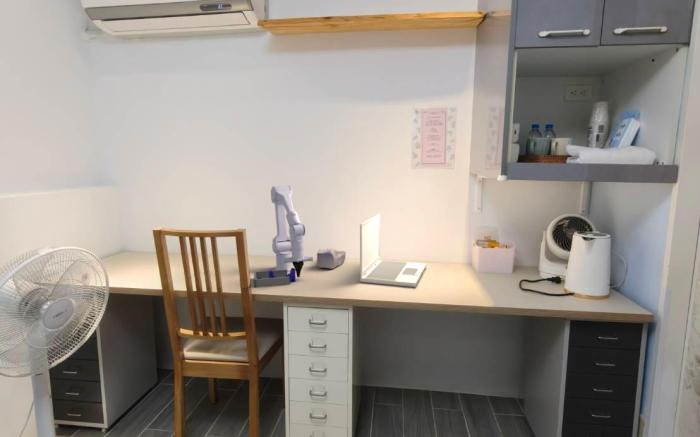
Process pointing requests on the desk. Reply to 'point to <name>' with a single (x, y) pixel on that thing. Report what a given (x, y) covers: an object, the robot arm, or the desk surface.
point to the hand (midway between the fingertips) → (298, 276)
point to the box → (271, 281)
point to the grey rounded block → (330, 258)
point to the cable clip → (290, 275)
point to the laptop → (381, 269)
